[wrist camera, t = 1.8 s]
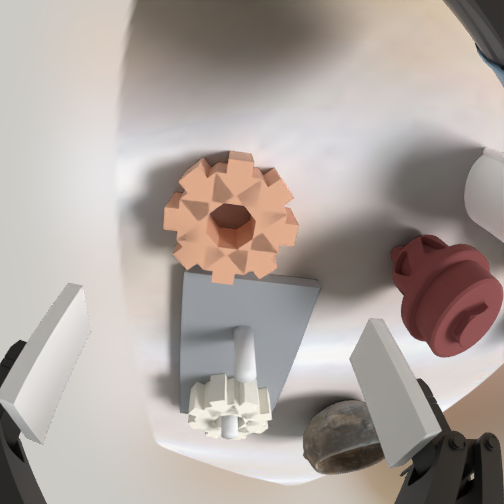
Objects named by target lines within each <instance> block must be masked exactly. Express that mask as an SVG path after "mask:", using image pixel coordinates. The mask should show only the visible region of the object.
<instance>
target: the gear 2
mask: <svg viewBox="0 0 504 504" xmlns="http://www.w3.org/2000/svg"><path fill="white" fill-rule="evenodd" d="M188 414H189V419H188V423H189V424H190V426H191V427H192V428H193V429H202V430H203V431H204V432H205V436H208V437H212V438H215V439H218V438H219V437H220V436H221V416H225V415H234V416H238V437H237V438H234V439H233V440H238V439H247V438H246V435H250V434H252V433H253V432H255V433H259V434H261V433H262V432H264V431H265V430H266V429H268V422H267V421H268V420H272V415H271V406H270V397H269V393H268V390H267V388H261V389H258V387H257V379H255V380H254V381H252V382H249V383H241V382H238V381H237V380H235V378H230V379H228V378H227V376H226V374H225V373H224V374H218V375H211V379H210V381H209V382H207V383H206V384H202V383H199V382H196V383H195V385H194V386H193V387H192V388H191V393H190V403H189V412H188Z"/></svg>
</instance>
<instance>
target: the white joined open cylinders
mask: <svg viewBox="0 0 504 504" xmlns="http://www.w3.org/2000/svg"><path fill="white" fill-rule="evenodd" d="M464 201H465V207H466V211H467V213H468V215H469V217H470V218H471V220H473V221H474V222H475V223H477V224H478V225H480V226H481V227H483V228H484V229H485V230H487V231H488V232H490V233H491V234H493V235H494V236H495V237H497V238H498V239H499V240H501V241H502V242H504V153H502V152H499V151H496V150H494V149H491V148H488V147H486V148H484V150H483V155H482V156H481V157H479V158H478V159H477V160H476V162H475V163H474V164H473V166H472V168H471V170H470V172H469V174H468V177H467V180H466V185H465V192H464Z"/></svg>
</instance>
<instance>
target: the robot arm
mask: <svg viewBox="0 0 504 504" xmlns="http://www.w3.org/2000/svg"><path fill="white" fill-rule="evenodd" d="M443 1H444V2H445V4H446V5H447V6H448V7H449V8H450V10H451V11H452V12H453V13H454V14H455V16H456V17H457V18H458V19H459V21H460V22H461V23H462V25H463V26H464V27H465V29H466V30H467V31H468V33H469V34H470V36H471V37H472V38H473V40H474V41H475V45H476V47H477V52H478V53H479V55H480V56H481V58H482V59H483V61H484V62H485V63H486V64H487V65H488V66H489V67H490V68H492V69H493V71H494V73H495V74H496V76H497V77H498V79H499V80H500V82H501V84H502V85H503V87H504V0H443ZM90 333H91V329H90V324H89V319H88V314H87V308H86V303H85V296H84V291H83V286H82V285H77V284H71V283H68V284H67V286H66V287H65V288H64V290H63V291H62V292H61V294H60V295H59V296H58V298H57V299H56V301H55V302H54V303H53V305H52V306H51V308H50V309H49V310H48V312H47V313H46V315H45V316H44V318H43V319H42V321H41V322H40V324H39V325H38V327H37V328H36V330H35V331H34V333H33V334H32V336H31V337H30V339H29V340H28V342H25V341H21V340H19V341H18V342H16V343H15V344H14V345H13V346H11V347H10V349H9V350H8V352H7V354H6V355H5V358H3V360H2V362H1V363H0V504H47V503H46V501H45V499H44V497H43V495H42V493H41V490H40V488H39V486H38V484H37V482H36V479H35V477H34V475H33V472H32V470H31V467H30V465H29V463H28V460H27V457H26V455H25V452H24V449H23V446H22V443H21V441H20V439H19V434H20V432H22V433H23V434H24V435H25V437H26V438H28V439H30V440H32V441H34V442H37V443H39V444H42V445H43V443H44V440H45V437H46V434H47V432H48V429H49V426H50V424H51V421H52V419H53V416H54V414H55V411H56V408H57V406H58V403H59V401H60V399H61V396H62V394H63V391H64V389H65V387H66V384H67V382H68V380H69V377H70V375H71V373H72V371H73V369H74V366H75V364H76V362H77V360H78V358H79V356H80V353H81V351H82V349H83V347H84V345H85V343H86V341H87V339H88V337H89V335H90ZM349 359H350V362H351V364H352V367H353V370H354V372H355V375H356V377H357V380H358V383H359V385H360V388H361V391H362V393H363V396H364V399H365V401H366V404H367V407H368V410H369V412H370V415H371V418H372V421H373V424H374V426H375V429H376V432H377V435H378V438H379V441H380V444H381V447H382V450H383V452H384V455H385V458H386V461H387V465H388V468H389V469H390V468H393V467H397V466H402V465H404V464H405V463H407V462H408V461H409V460H410V459H411V458H412V461H413V464H412V465H411V466H409V467H408V468H407V469H406V470H404V471H403V472H402V473H401V475H400V476H403V475H404V474H406V473H407V472H408V473H407V476H406V477H405V480H404V483H403V485H402V488H401V490H400V492H399V495H398V497H397V499H396V501H395V504H504V487H503V469H502V458H501V449H500V443H499V440H498V439H497V437H496V436H495V435H494V434H492V433H484V434H483V435H482V436H481V437H480V438H478V439H465V437H464V436H463V435H462V434H461V433H459V432H457V431H451V429H450V427H449V425H448V423H447V421H446V419H445V417H444V415H443V413H442V411H441V409H440V407H439V405H438V404H437V401H436V399H435V398H434V397H433V394H432V392H431V390H430V388H429V386H428V385H427V384H426V383H425V382H424V381H423V380H422V379H421V378H420V379H416V378H415V376H414V374H413V372H412V370H411V369H410V367H409V365H408V363H407V361H406V359H405V358H404V356H403V354H402V352H401V350H400V349H399V347H398V345H397V343H396V341H395V340H394V338H393V336H392V334H391V333H390V331H389V329H388V328H387V326H386V324H385V322H384V321H383V319H372V318H369V320H368V322H367V324H366V327H365V329H364V331H363V333H362V335H361V337H360V339H359V341H358V343H357V345H356V347H355V349H354V351H353V353H352V355H351V357H350V358H349ZM473 473H474V479H473V480H471V478H470V475H472V474H473Z"/></svg>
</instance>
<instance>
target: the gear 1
mask: <svg viewBox="0 0 504 504" xmlns="http://www.w3.org/2000/svg"><path fill="white" fill-rule="evenodd" d="M178 182H179V183H180V184H181V186H182V187H183V188H184V189H185V191H184V193H178V192H174V194H173V195H172V197H171V198H170V200H169V201H168V203H167V204H166V206H165V210H164V226H163V229H165V230H173V231H177V241H178V242H177V244H176V247H175V250H174V252H173V255H174V256H175V258H176V259H177V260H178V261H179V262H180V263H181V264H182V265H183V266H184V267H185V268H186V269H187V270H188V269H190V268H191V267H193V266H194V265H196V264H197V263H198V264H199V266H200V267H201V268H202V269H203V270H209V271H213V273H212V281H211V282H213V283H221V284H229V285H233V282H234V276H235V274H240V275H245V274H246V273H248V272H250V271H251V270H252V271H253V272H254V274H255V275H256V276H257V277H258V278H259V279H261V278H262V277H264V276H266V275H267V274H269V273H270V272H272V271H274V270H275V269H277V268H278V267H277V263H276V259H275V255H276V254H278V252H279V248H280V245H285V246H293V247H294V244H295V240H296V236H297V232H298V228H299V225H298V223H297V221H296V219H295V217H294V215H293V213H292V211H291V209H290V208H285V207H284V206H283V205H285V204H286V203H288V202H289V201H291V200H292V199H294V197H293V196H292V194H291V192H290V191H289V189H288V187H287V186H286V184H285V183H284V181H283V180H282V178H281V177H280V175H279V174H278V172H277V171H276V170H275V168H273V169H271V170H270V171H268V172H267V173H265V174H264V175H263V174H262V172H261V171H260V170H259V168H256V167H254V160H253V157H252V154H250V153H243V152H236V151H230V153H229V159H228V163H222V162H218V163H217V164H215V165H214V166H213V167H211V166H210V165H209V164H208V162H207V161H206V160H205V158H204V157H203V158H202V159H201V160H199V161H198V162H197V163H195V164H194V165H193V166H191V167H190V168H189V169H188V170H186V172H185V173H184V175H183V176H182V177H181V179H180V180H179V181H178ZM223 203H227V204H234V205H241V206H245V207H246V209H247V210H248V211H249V213H250V214H251V219H250V221H248V222H247V223H245V224H244V225H242V226H241V227H239V228H238V229H231V228H223V227H220V226H219V225H218V224H217V223H216V221H215V220H214V219H213V218H212V217H211V215H210V213H211V212H212V211H214V210H215V209H216V208H218V207H219V206H221V205H222V204H223Z"/></svg>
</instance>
